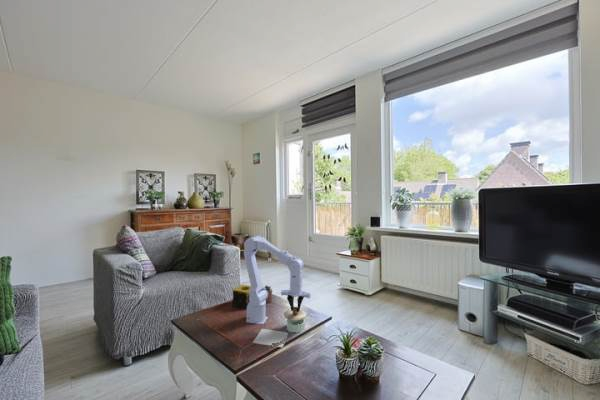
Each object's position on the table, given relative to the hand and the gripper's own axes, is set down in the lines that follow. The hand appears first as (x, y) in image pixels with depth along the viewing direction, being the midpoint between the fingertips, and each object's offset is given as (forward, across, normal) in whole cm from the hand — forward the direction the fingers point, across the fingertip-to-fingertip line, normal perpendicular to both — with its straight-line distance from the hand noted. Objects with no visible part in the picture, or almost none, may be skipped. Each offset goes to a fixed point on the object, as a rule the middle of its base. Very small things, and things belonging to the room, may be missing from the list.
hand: (295, 310), depth 131 cm
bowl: (+9, 0, 0) cm, 9 cm away
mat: (+9, -9, -10) cm, 17 cm away
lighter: (+10, -25, +25) cm, 37 cm away
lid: (+2, 0, 0) cm, 2 cm away
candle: (+10, -36, +18) cm, 41 cm away
